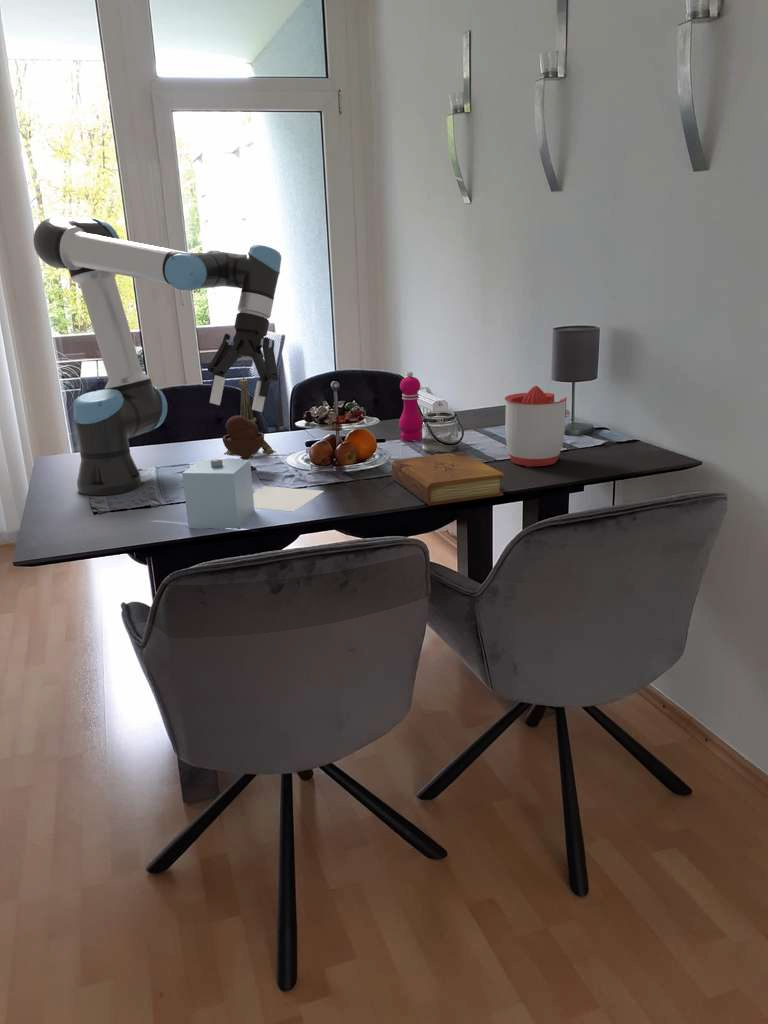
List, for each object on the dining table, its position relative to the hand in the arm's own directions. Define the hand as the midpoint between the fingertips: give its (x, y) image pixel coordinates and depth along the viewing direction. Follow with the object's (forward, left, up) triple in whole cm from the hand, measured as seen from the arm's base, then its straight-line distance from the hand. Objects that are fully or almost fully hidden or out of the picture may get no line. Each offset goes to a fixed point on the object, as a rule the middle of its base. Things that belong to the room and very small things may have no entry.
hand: (235, 407), depth 185 cm
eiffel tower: (-35, +22, -21) cm, 47 cm away
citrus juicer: (+30, +70, -21) cm, 79 cm away
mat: (+10, +3, -21) cm, 23 cm away
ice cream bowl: (-18, +11, -21) cm, 30 cm away
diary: (+30, +38, -22) cm, 53 cm away
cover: (+14, -13, -21) cm, 28 cm away
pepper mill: (-14, +65, -21) cm, 70 cm away
